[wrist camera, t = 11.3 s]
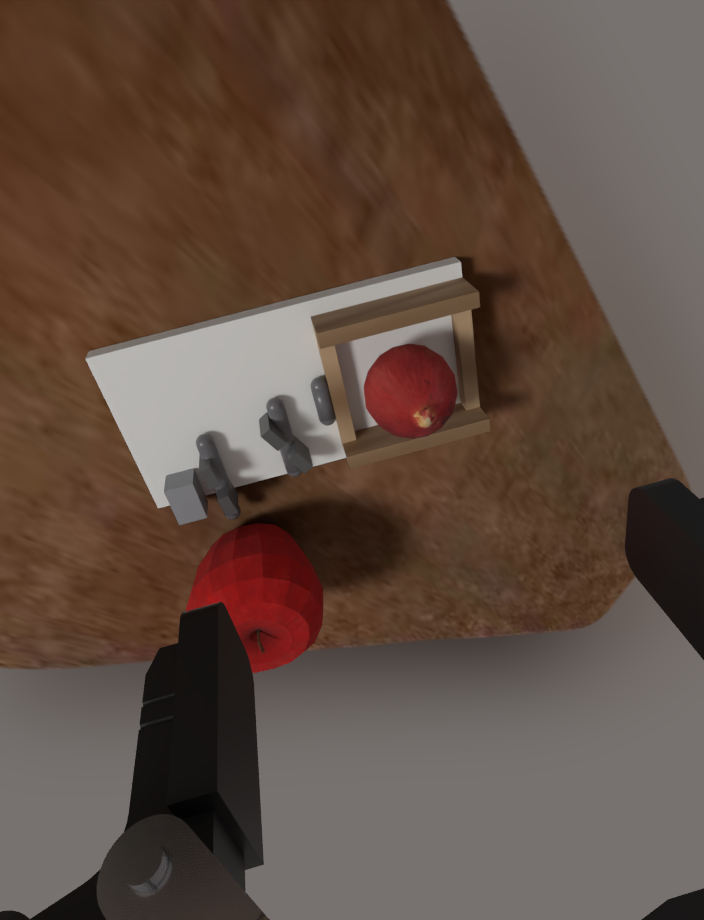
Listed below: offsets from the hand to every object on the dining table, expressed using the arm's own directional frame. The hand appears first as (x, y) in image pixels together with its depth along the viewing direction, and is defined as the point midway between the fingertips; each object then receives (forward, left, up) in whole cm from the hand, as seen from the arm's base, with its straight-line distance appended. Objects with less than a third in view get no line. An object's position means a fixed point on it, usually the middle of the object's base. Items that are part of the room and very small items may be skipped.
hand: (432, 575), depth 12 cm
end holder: (+10, +5, -29) cm, 31 cm away
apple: (+23, -9, -30) cm, 39 cm away
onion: (+10, +5, -29) cm, 31 cm away
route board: (+11, -2, -30) cm, 32 cm away
